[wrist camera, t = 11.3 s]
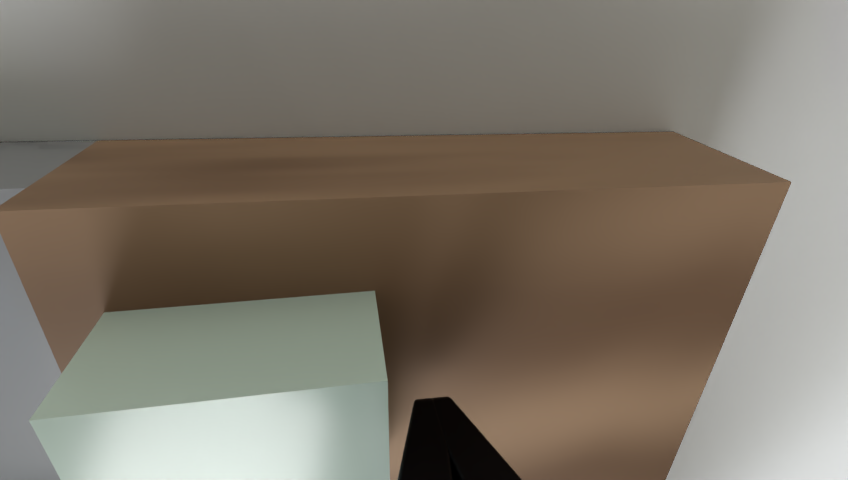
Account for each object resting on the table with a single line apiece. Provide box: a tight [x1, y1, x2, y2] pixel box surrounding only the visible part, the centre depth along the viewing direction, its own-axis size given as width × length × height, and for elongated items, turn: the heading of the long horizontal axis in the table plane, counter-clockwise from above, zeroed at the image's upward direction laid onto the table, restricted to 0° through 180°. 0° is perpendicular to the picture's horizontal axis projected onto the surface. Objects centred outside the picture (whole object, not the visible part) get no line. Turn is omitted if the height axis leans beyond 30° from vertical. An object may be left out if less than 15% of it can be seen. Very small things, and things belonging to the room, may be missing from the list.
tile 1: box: [29, 291, 390, 480], centre depth 9 cm, size 5×5×2 cm
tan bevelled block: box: [0, 132, 791, 480], centre depth 15 cm, size 20×15×4 cm
